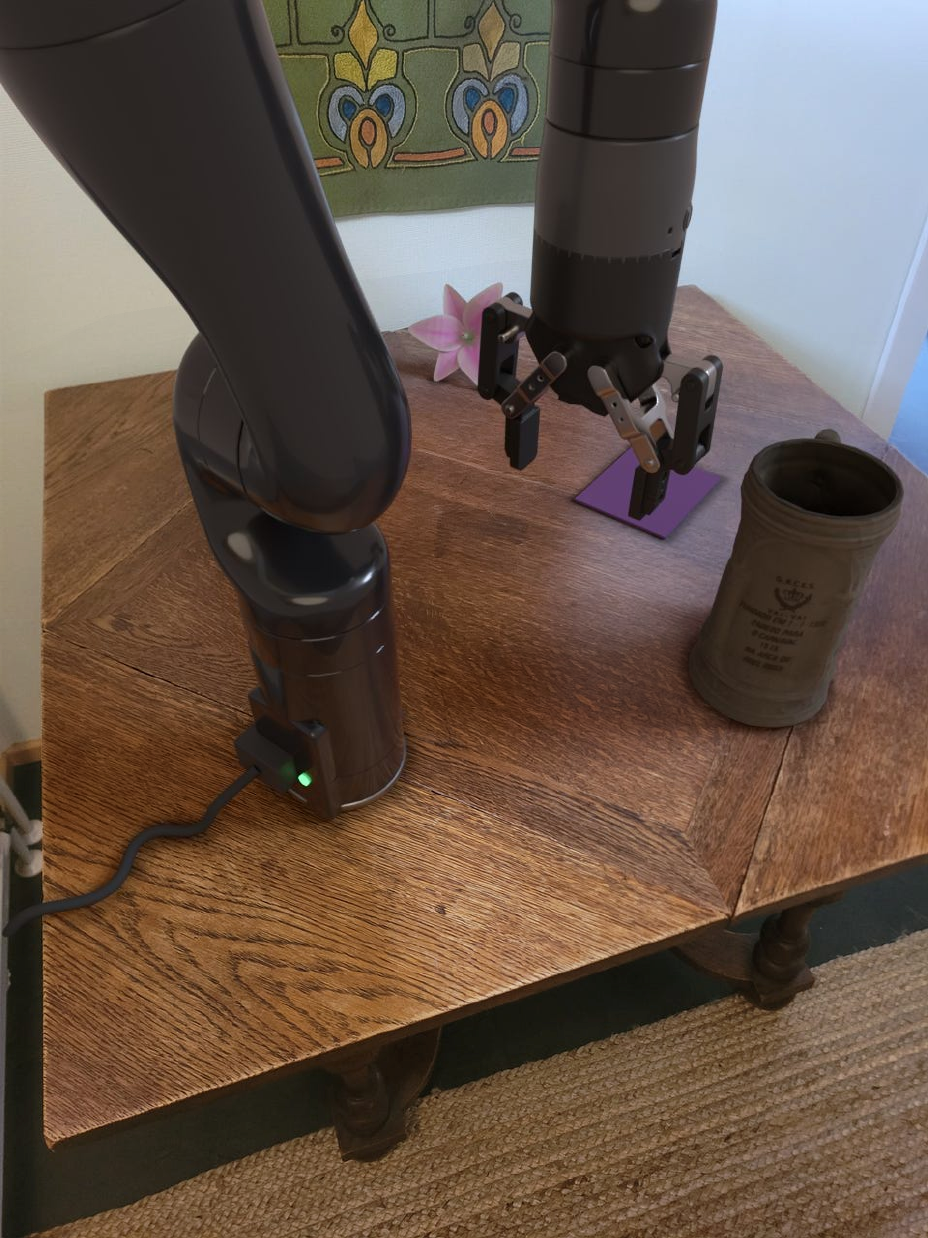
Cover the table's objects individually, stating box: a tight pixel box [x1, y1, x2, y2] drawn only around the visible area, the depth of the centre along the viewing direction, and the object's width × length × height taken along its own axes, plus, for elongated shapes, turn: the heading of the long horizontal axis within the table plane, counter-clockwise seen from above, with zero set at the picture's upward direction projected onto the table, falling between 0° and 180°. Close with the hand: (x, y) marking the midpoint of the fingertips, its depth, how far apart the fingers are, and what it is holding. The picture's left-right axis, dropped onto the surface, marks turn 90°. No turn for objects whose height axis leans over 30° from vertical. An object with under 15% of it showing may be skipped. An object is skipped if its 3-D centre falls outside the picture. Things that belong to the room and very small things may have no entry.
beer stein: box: [688, 428, 905, 728], centre depth 65 cm, size 15×11×20 cm
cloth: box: [574, 446, 721, 540], centre depth 88 cm, size 12×10×1 cm
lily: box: [407, 282, 521, 386], centre depth 103 cm, size 12×12×10 cm
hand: (580, 487), depth 54 cm, fingers open, 8 cm apart
